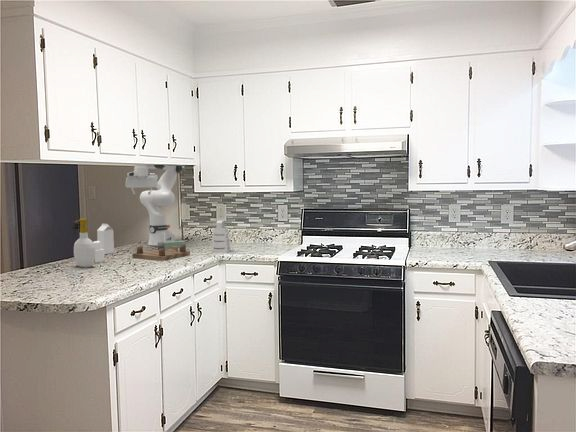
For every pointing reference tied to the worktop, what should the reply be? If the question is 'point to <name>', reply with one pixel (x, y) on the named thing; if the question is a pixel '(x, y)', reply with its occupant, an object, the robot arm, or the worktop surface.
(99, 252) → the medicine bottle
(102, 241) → the milk carton
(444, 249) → the worktop surface
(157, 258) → the stool seat
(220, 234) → the grey tiered tower
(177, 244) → the hinged leg
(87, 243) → the soap bottle
